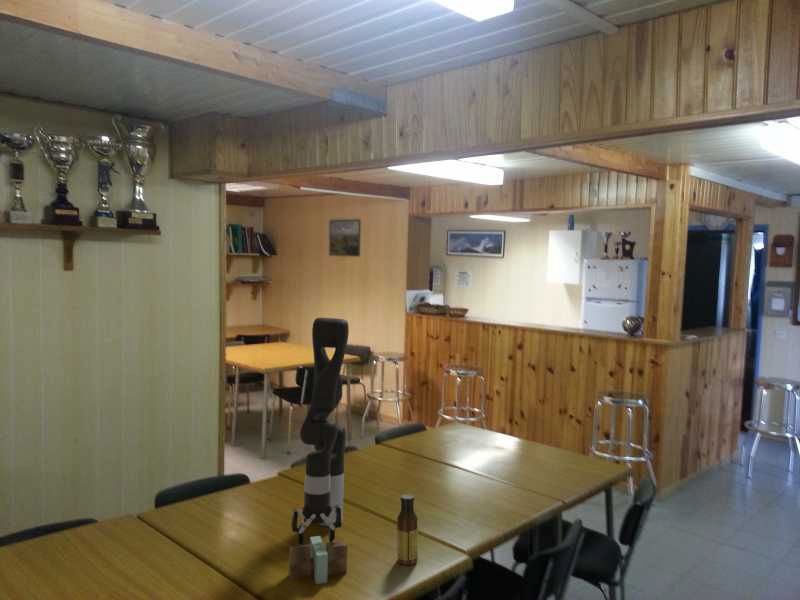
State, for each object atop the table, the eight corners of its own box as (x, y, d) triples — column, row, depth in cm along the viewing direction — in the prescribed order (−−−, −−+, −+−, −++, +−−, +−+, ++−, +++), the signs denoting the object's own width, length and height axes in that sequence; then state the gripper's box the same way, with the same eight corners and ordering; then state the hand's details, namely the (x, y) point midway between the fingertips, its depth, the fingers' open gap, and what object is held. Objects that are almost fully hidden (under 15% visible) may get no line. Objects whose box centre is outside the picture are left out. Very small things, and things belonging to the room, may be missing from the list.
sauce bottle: (417, 556, 185) (419, 492, 184) (418, 566, 179) (420, 500, 178) (395, 556, 185) (397, 492, 184) (396, 566, 179) (398, 499, 178)
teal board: (309, 563, 178) (309, 537, 178) (319, 562, 179) (320, 536, 179) (316, 584, 167) (317, 555, 166) (327, 582, 168) (327, 554, 167)
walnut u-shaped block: (290, 579, 169) (291, 551, 168) (289, 574, 172) (289, 546, 171) (346, 572, 174) (347, 545, 173) (344, 567, 176) (345, 540, 176)
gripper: (339, 482, 181) (337, 534, 182) (291, 485, 177) (289, 539, 178) (344, 491, 174) (342, 546, 175) (294, 495, 170) (293, 551, 171)
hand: (316, 542), depth 176 cm, fingers open, 8 cm apart
